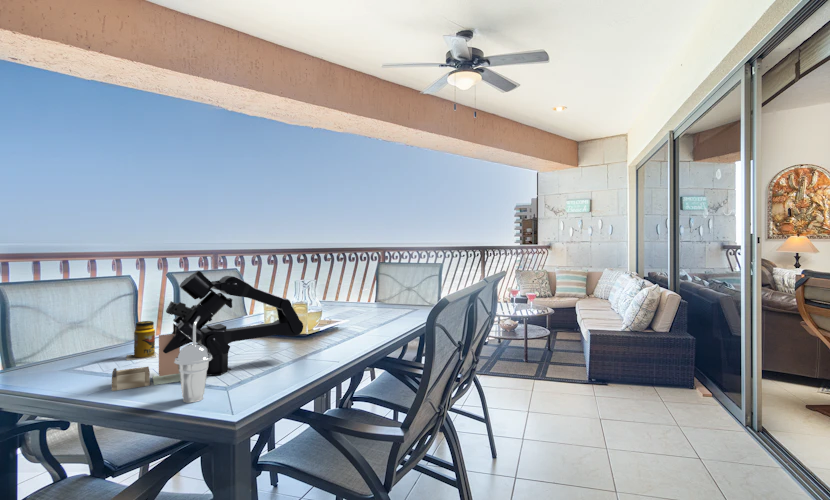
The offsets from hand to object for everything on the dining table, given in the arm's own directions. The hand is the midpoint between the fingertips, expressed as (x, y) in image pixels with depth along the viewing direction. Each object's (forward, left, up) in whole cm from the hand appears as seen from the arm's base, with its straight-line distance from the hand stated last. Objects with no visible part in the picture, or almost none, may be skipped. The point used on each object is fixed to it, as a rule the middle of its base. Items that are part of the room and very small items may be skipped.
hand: (163, 351), depth 120 cm
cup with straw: (-18, +13, -8) cm, 24 cm away
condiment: (+26, -23, -8) cm, 36 cm away
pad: (-1, -1, -8) cm, 8 cm away
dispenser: (+6, +5, -8) cm, 11 cm away
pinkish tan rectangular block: (-1, -1, -7) cm, 7 cm away
